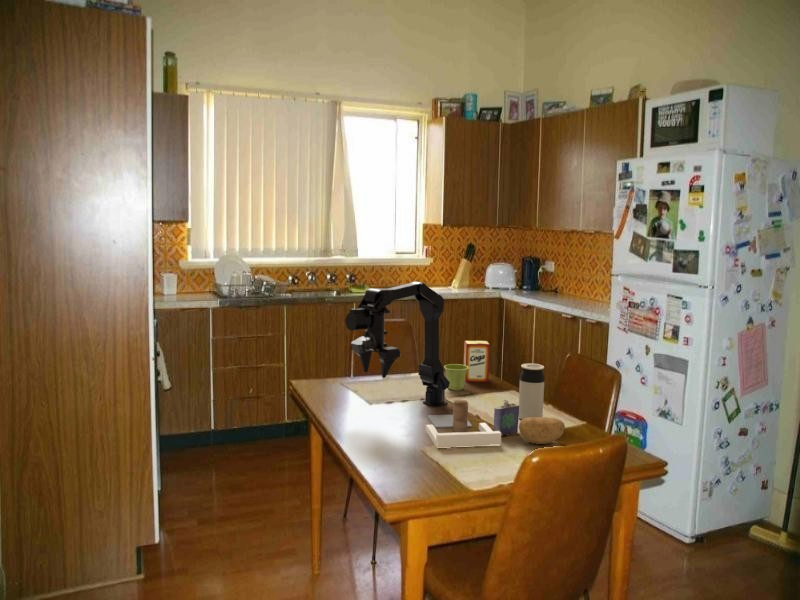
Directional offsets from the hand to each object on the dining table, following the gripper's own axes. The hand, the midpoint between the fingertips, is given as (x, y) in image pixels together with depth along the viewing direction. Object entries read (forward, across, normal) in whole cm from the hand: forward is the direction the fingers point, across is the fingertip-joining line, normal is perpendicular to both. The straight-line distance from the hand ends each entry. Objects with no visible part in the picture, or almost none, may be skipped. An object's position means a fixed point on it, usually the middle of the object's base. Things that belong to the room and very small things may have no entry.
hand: (374, 375), depth 214 cm
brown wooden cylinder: (+15, +29, +10) cm, 34 cm away
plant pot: (+15, -10, +49) cm, 52 cm away
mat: (+15, +18, +18) cm, 29 cm away
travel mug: (+15, +32, +41) cm, 54 cm away
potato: (+15, +49, +24) cm, 57 cm away
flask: (+15, +37, +22) cm, 46 cm away
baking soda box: (+15, -14, +66) cm, 69 cm away
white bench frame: (+15, +31, +9) cm, 36 cm away
